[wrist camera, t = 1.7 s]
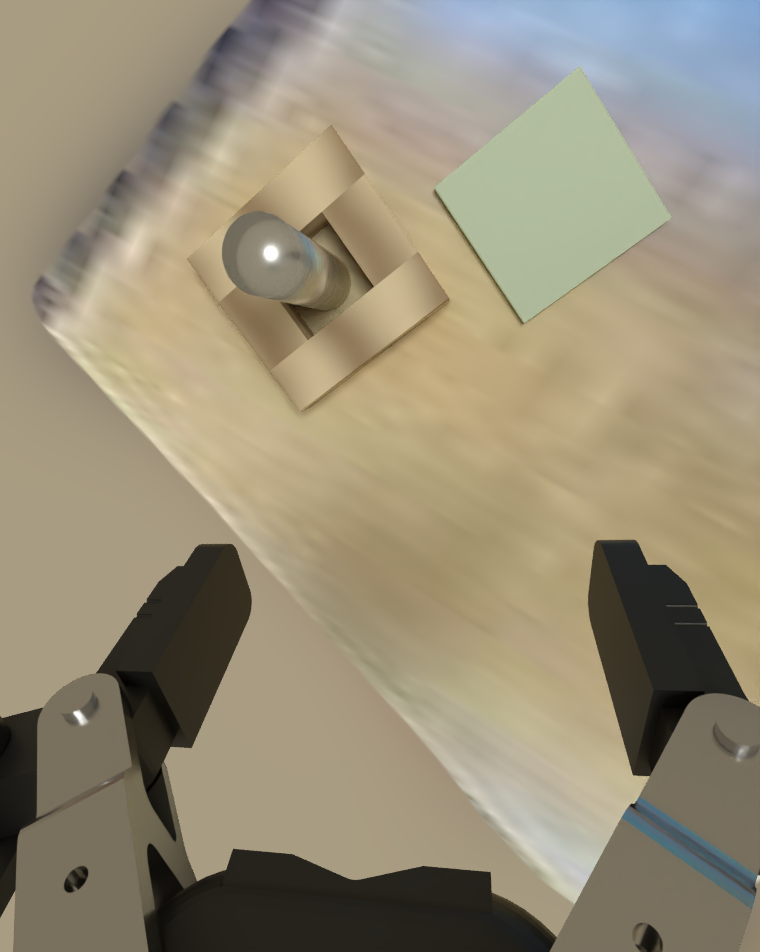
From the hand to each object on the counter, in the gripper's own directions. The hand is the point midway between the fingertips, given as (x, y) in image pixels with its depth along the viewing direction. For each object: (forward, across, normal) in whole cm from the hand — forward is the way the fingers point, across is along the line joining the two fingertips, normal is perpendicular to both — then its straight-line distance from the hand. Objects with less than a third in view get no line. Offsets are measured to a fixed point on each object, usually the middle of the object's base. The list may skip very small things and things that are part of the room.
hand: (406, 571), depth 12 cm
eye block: (+27, +8, -1) cm, 28 cm away
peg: (+27, +8, -1) cm, 28 cm away
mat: (+28, -7, -4) cm, 29 cm away
